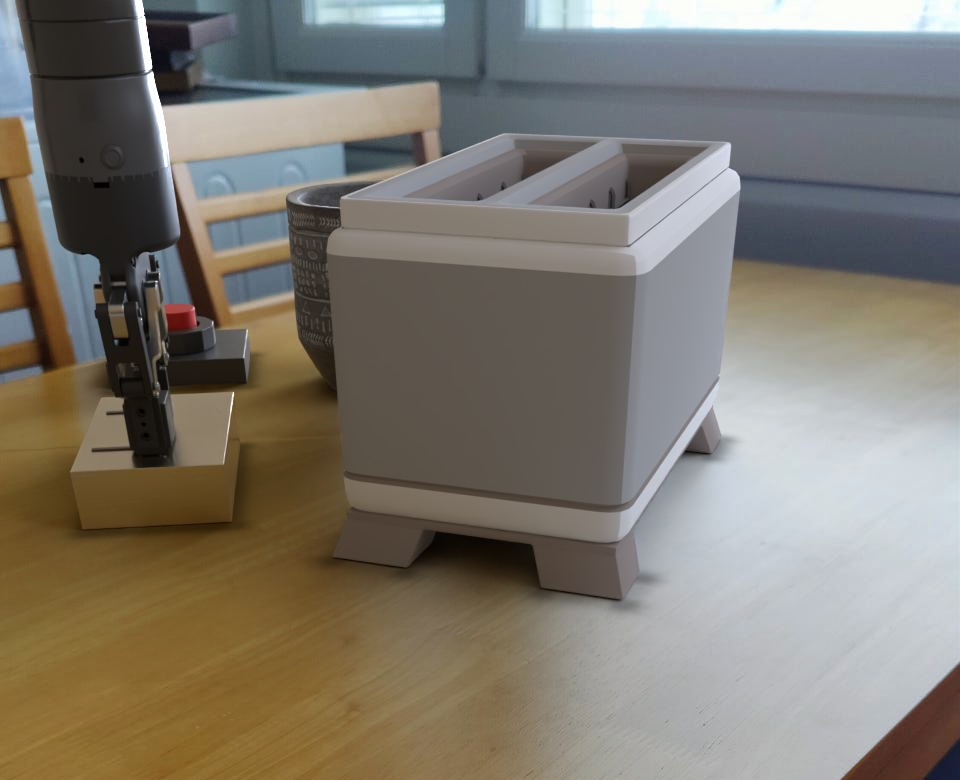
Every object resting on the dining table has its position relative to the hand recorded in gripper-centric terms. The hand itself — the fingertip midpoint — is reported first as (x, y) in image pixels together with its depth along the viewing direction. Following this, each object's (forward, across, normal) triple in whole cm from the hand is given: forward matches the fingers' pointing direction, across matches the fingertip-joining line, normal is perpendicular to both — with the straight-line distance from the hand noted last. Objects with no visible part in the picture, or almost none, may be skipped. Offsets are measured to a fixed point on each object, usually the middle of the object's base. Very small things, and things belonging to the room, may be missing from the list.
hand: (154, 436), depth 84 cm
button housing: (+5, -31, -1) cm, 32 cm away
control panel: (+4, -2, 0) cm, 5 cm away
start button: (+1, -31, -1) cm, 31 cm away
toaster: (+4, +2, +28) cm, 28 cm away
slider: (0, +1, 0) cm, 1 cm away
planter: (+5, -25, +17) cm, 31 cm away
